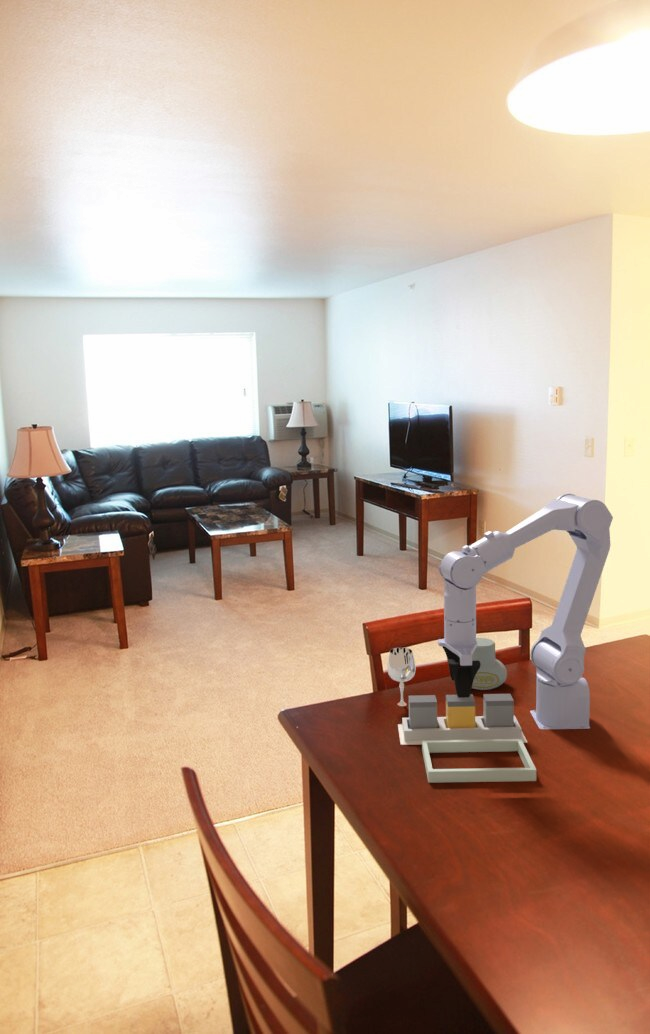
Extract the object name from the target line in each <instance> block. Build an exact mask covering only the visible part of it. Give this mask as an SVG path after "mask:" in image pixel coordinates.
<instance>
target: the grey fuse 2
mask: <svg viewBox="0 0 650 1034" xmlns="http://www.w3.org/2000/svg"><path fill="white" fill-rule="evenodd" d="M482 702H483V705H482V709H483V710H482V711H483V713H482V716H483V725H484V727H513V726H514V716H515V714H514V713H515V712H514V711H515V710H514V709H515V708H514V706H515V704H514V703H515V700H514V698H513V697H512V695H511V693H483V697H482Z"/></svg>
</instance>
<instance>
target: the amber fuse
mask: <svg viewBox="0 0 650 1034" xmlns="http://www.w3.org/2000/svg"><path fill="white" fill-rule="evenodd" d="M475 699H476V698H475V697H474V695H473V693H472V694H471V693H470V696H469V697H466V698H458V696H457V694H445V717H446V728H475V716H476V700H475Z"/></svg>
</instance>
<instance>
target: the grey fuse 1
mask: <svg viewBox="0 0 650 1034" xmlns="http://www.w3.org/2000/svg"><path fill="white" fill-rule="evenodd" d="M437 717H438V701H437V697H436V694H430V695H429V694H427V695H424V694H423V695H418V694H417V695H408V718H409V729H427V728H437Z"/></svg>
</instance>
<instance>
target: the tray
mask: <svg viewBox="0 0 650 1034" xmlns="http://www.w3.org/2000/svg"><path fill="white" fill-rule="evenodd" d="M469 752H470V753H477V752H478V753H483V752H484V753H485V752H486V753H487V752H492V753H493V752H517V753H518V755H519V758H520V759H521V761H522V764H523V766H524V767H483V768H481V767H480V768H473V767H472V768H433V765H432V760H431V756H430V754H431V753H434V754H436V753H469ZM421 753H422V756H423V761H424V762H423V763H424V767H425V773H426V777H427V782H428V783H433V784H434V783H481V782H483V783H487V782H488V783H489V782H492V783H494V782H496V783H497V782H498V783H499V782H501V783H503V782H537V768H536V766H535V764H534V762H533V760H532V757H531V756H530V754H529V751H528V750H527V748H526V746H525V743H523V741H522V739H476V740H422V744H421Z"/></svg>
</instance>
